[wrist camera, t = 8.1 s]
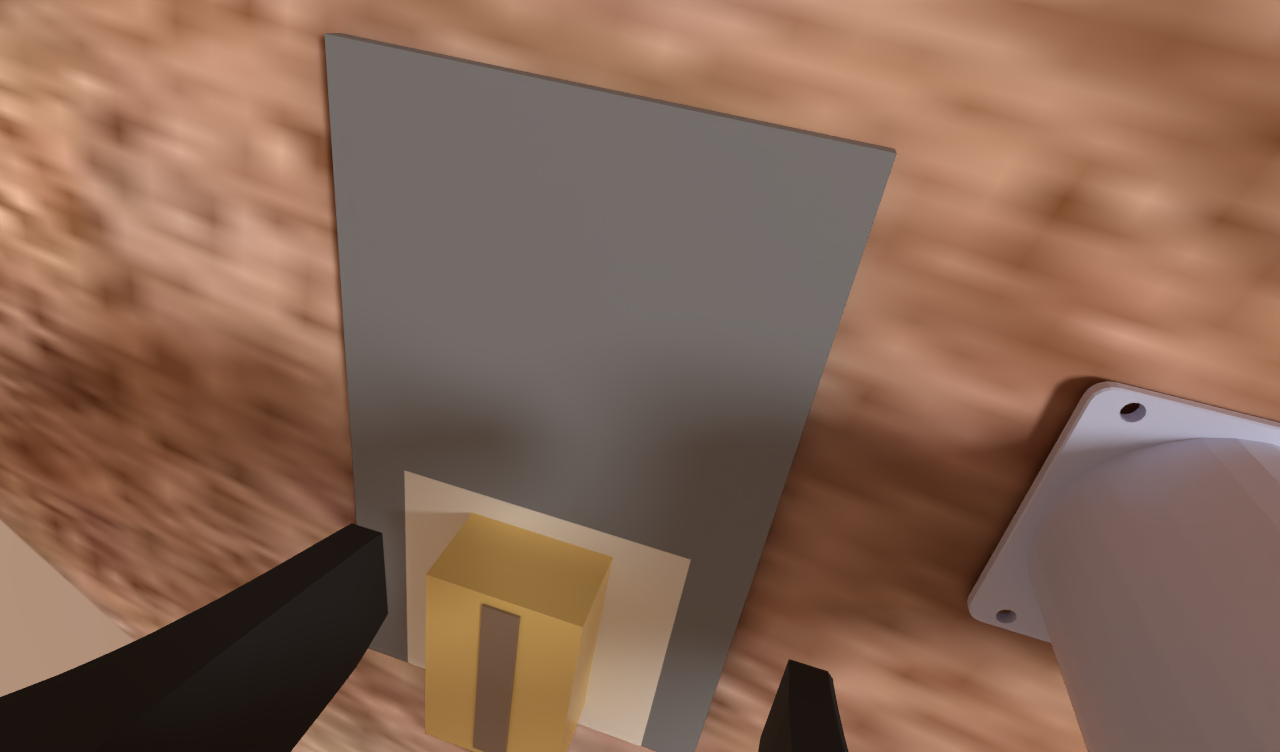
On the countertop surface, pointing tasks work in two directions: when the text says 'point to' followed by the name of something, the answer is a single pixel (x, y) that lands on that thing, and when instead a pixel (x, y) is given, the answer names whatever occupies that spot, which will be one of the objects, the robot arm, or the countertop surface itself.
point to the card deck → (510, 637)
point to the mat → (585, 342)
